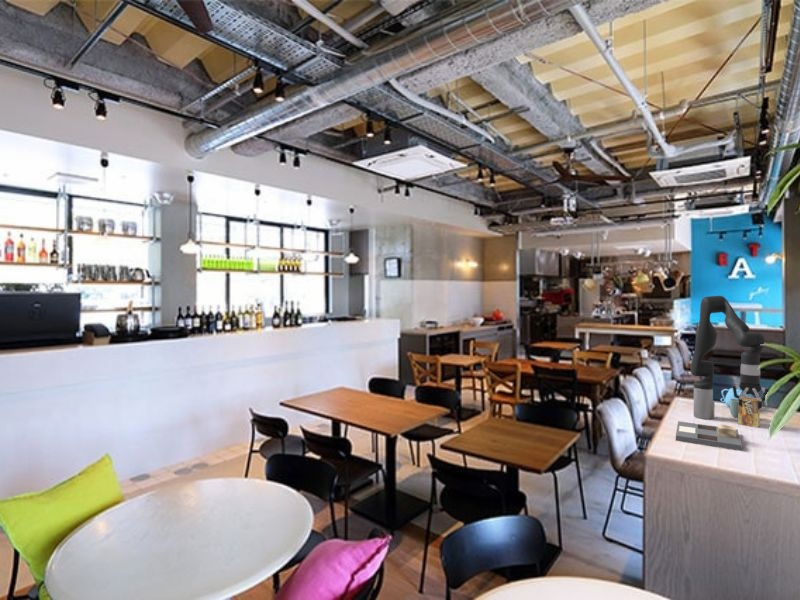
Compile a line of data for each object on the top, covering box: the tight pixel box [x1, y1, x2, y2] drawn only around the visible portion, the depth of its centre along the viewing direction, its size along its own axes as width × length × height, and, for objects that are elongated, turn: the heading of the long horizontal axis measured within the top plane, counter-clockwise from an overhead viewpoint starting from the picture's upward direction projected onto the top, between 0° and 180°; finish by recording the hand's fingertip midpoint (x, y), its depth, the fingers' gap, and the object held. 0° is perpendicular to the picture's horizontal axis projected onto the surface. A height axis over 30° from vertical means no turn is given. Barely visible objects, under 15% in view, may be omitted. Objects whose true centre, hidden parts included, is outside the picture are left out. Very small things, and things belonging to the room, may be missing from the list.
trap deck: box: [675, 420, 743, 451], centre depth 223 cm, size 26×28×2 cm
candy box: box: [737, 396, 761, 428], centre depth 241 cm, size 9×4×15 cm, turn 44°
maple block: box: [717, 423, 737, 438], centre depth 218 cm, size 7×7×4 cm
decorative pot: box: [720, 387, 755, 408], centre depth 275 cm, size 16×16×14 cm
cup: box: [729, 399, 738, 419], centre depth 256 cm, size 8×8×10 cm
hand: (749, 407), depth 213 cm, fingers open, 6 cm apart
